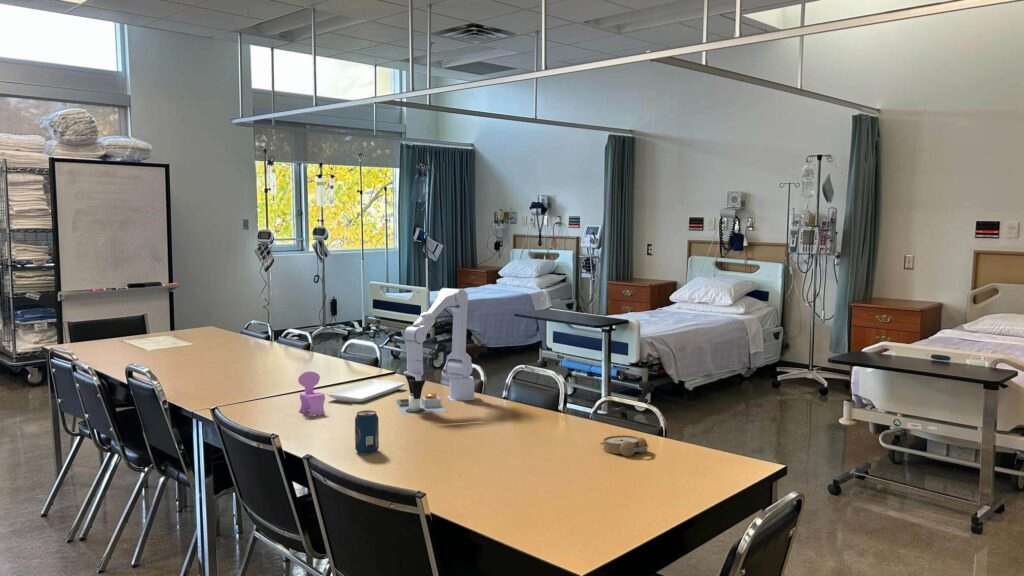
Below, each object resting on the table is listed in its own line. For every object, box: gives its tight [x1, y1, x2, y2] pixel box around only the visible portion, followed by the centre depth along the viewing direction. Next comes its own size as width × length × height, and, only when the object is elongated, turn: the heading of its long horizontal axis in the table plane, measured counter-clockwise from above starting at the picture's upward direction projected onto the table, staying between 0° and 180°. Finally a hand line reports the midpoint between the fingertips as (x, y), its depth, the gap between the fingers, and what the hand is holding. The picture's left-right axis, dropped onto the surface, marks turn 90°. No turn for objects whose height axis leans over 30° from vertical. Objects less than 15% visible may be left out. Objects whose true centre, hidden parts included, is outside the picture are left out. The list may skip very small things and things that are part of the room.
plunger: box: [424, 392, 438, 399], centre depth 278 cm, size 4×4×4 cm
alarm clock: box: [599, 434, 649, 458], centre depth 225 cm, size 11×5×15 cm
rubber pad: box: [406, 408, 425, 414], centre depth 271 cm, size 7×7×1 cm
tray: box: [326, 378, 406, 403], centre depth 298 cm, size 17×32×4 cm, turn 156°
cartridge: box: [408, 392, 421, 411], centre depth 271 cm, size 4×4×6 cm
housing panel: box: [394, 395, 448, 415], centre depth 278 cm, size 16×22×4 cm
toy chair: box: [297, 370, 326, 417], centre depth 268 cm, size 8×9×15 cm
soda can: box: [354, 409, 380, 456], centre depth 223 cm, size 7×7×12 cm
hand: (415, 396), depth 271 cm, fingers open, 7 cm apart
